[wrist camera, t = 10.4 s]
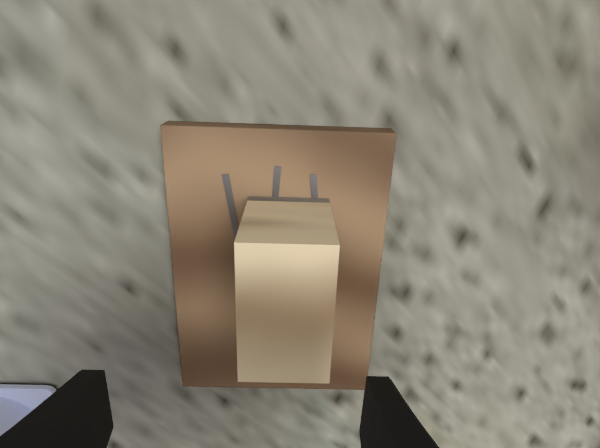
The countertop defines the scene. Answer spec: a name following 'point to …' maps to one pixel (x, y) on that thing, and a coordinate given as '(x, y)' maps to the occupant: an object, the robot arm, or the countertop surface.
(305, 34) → the countertop surface
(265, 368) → the block
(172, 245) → the board
